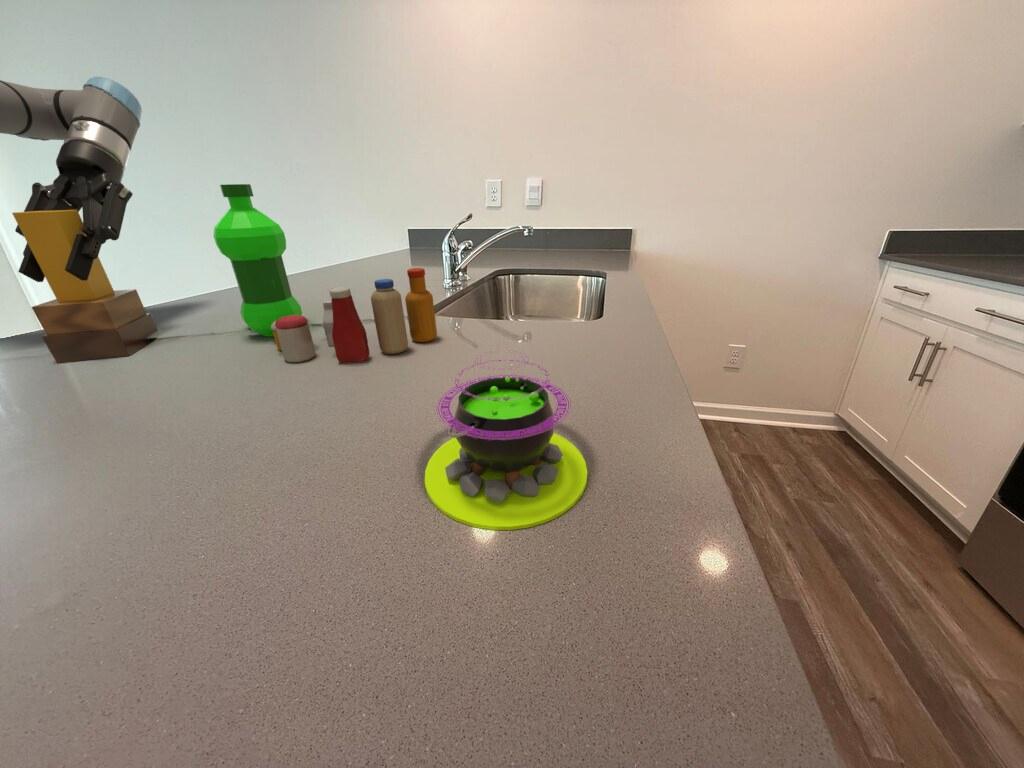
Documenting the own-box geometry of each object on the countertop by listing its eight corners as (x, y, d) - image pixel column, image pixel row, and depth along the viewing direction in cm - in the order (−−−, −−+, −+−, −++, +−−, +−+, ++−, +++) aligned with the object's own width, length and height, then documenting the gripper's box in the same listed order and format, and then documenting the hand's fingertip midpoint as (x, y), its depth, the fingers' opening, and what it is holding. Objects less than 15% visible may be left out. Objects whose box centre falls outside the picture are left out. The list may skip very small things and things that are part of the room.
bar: (58, 302, 64) (11, 212, 58) (80, 295, 68) (38, 211, 62) (95, 299, 65) (53, 211, 59) (115, 292, 69) (77, 209, 63)
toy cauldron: (484, 414, 47) (478, 322, 42) (609, 449, 40) (620, 345, 35) (388, 490, 36) (365, 376, 31) (542, 559, 29) (543, 426, 24)
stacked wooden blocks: (56, 363, 65) (25, 307, 61) (97, 342, 74) (72, 293, 70) (129, 356, 67) (104, 302, 63) (160, 336, 76) (140, 288, 72)
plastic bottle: (252, 345, 70) (200, 184, 59) (242, 331, 78) (195, 185, 67) (313, 332, 76) (276, 183, 65) (298, 320, 83) (263, 184, 72)
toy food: (439, 333, 73) (432, 265, 68) (428, 361, 62) (418, 281, 57) (290, 338, 73) (271, 270, 68) (252, 366, 62) (225, 287, 56)
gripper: (10, 140, 65) (-45, 263, 57) (133, 138, 66) (95, 258, 58) (58, 178, 72) (15, 292, 64) (169, 175, 73) (139, 287, 65)
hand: (53, 275), depth 61 cm, fingers closed on bar, 6 cm apart
